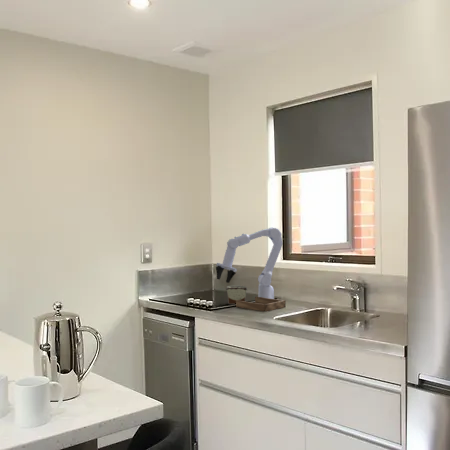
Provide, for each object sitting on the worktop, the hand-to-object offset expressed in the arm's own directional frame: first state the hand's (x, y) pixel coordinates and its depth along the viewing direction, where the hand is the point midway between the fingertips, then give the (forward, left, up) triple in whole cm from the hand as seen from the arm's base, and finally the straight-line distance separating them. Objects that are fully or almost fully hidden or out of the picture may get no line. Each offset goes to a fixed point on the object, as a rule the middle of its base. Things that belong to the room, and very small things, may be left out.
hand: (222, 280), depth 307 cm
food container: (-2, +9, -13) cm, 16 cm away
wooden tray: (-2, +26, -12) cm, 29 cm away
